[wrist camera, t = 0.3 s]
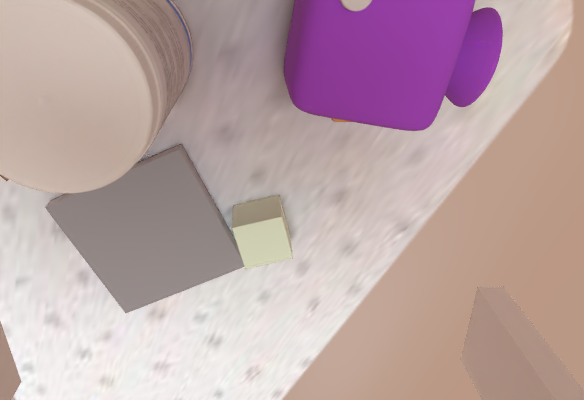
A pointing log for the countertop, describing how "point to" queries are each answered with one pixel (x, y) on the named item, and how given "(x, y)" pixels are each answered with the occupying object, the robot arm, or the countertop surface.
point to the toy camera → (389, 58)
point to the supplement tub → (86, 87)
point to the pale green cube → (261, 232)
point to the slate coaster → (150, 231)
